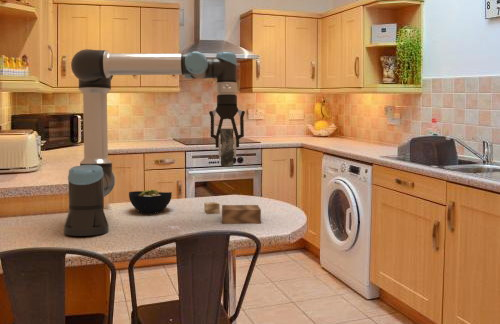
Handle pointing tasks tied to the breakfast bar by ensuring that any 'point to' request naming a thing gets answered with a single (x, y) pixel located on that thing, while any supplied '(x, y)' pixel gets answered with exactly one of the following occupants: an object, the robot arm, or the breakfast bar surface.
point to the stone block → (226, 147)
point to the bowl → (150, 201)
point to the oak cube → (212, 208)
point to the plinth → (241, 214)
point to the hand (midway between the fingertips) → (227, 156)
